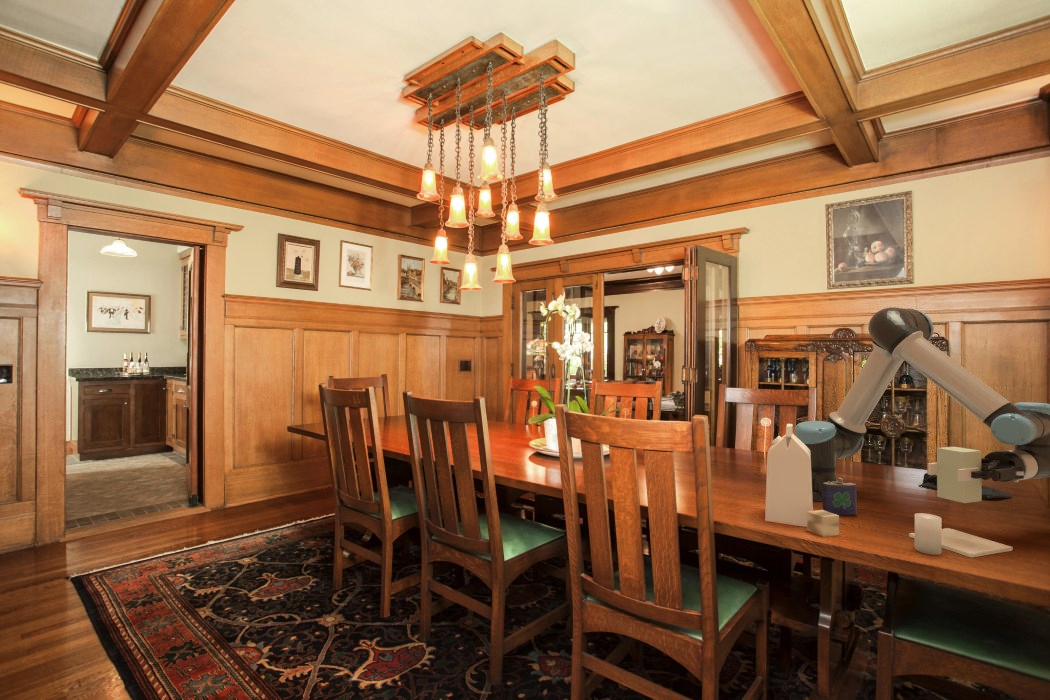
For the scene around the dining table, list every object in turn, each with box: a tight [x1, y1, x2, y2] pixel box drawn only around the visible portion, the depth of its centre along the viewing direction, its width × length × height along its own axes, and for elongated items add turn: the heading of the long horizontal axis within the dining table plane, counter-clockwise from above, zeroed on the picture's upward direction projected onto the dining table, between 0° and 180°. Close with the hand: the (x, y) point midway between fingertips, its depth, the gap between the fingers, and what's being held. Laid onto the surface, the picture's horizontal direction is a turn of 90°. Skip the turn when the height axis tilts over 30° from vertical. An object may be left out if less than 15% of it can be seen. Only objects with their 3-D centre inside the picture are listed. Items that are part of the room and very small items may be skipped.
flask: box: [822, 476, 858, 517], centre depth 149 cm, size 9×3×11 cm, turn 88°
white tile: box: [908, 527, 1013, 559], centre depth 127 cm, size 14×14×1 cm
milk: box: [764, 423, 814, 528], centre depth 147 cm, size 12×12×26 cm
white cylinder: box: [914, 512, 943, 556], centre depth 123 cm, size 5×5×8 cm
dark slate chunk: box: [918, 472, 1013, 500], centre depth 175 cm, size 15×22×5 cm
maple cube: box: [807, 509, 840, 538], centre depth 135 cm, size 5×5×5 cm
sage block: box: [936, 446, 983, 504], centre depth 127 cm, size 6×6×12 cm
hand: (944, 472), depth 126 cm, fingers closed on sage block, 6 cm apart
